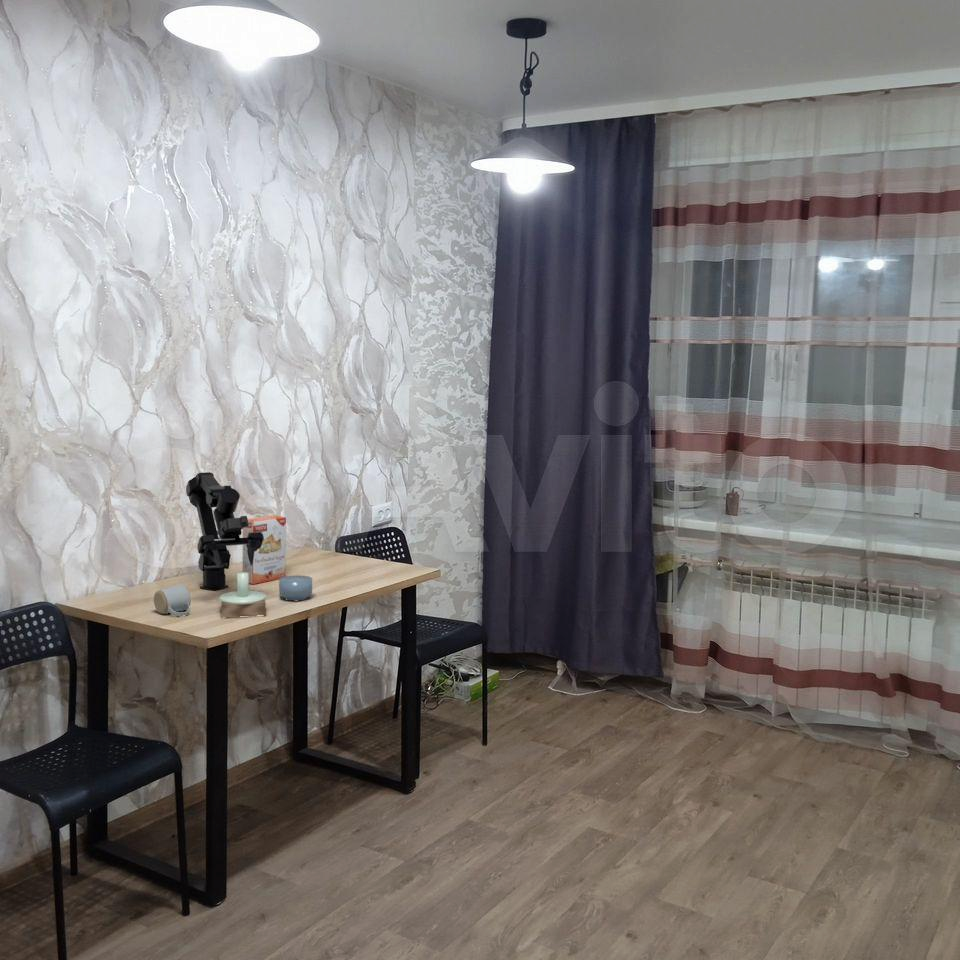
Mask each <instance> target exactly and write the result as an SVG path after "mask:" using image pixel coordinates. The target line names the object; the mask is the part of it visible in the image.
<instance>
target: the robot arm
mask: <svg viewBox="0 0 960 960" xmlns="http://www.w3.org/2000/svg"><path fill="white" fill-rule="evenodd" d="M185 493H186V496H187V497H188V500H189V503H190V504H191V505H193V507H195V508H196V511H197V516H198V520H199V525H200V529H201V533H202V535H201V536H200V537H199V538H198V543H197V553H198V554H200V555H199V558H198V562H197V563H198V569H199V570H200V571H201V572H202V577H203V578H202V584H203V585H200V586H199V588H200V589H202V588H204V589H203V590H208V589H209V591H217V589H218V590H221V588H222V589H225V587H226V588H228V587H229V585H228V584H226V573H225V570H229V569H230V563H231V561H230V560H231V553H230V550H229V549H228V546H229V547H230V546H243V545H245V544H246V546H247V548H248V549H247V553H248V557H249V562H250V564H251V565H253V559H254V551H257V549H259V548H261V545H262V542H263V540H264V536H263V534H262V533H261V532H249V534H248V537H246V538H243V537H240V536H241V535H242V534H243V531H242V530H243V528H245V527H247V526H248V519H249V518H248V516H247V515H241V516H239V517H235V514H234V513H235V512H236V510H237V508H238V504H239V500H240V497H241V496H240V493H239V492H238V490H236V489H234V488H232V486H231V485H230V484H229V485H221V484H220V482H218V481H217V479H216V478H215V477H214V473H213V472H210V471H209V472H207V471H206V472H198V473H196V476H194V477H193V478H190V479H189V480H188V482H187V483H186V487H185ZM212 508H214V510H213V509H212Z"/></svg>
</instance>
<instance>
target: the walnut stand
mask: <svg viewBox="0 0 960 960" xmlns="http://www.w3.org/2000/svg"><path fill="white" fill-rule="evenodd" d="M220 602H221V601H220ZM220 604H221V605H220V607H221V609H220V610H221V618H222V617H240V616H257V615H266V616H267V614H266V610H267V609H266V605H267V604H266V599H265V600H263V601H261V602H257V603H252V604H228V603H224V602H221V603H220Z"/></svg>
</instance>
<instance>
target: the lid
mask: <svg viewBox="0 0 960 960" xmlns="http://www.w3.org/2000/svg"><path fill="white" fill-rule="evenodd" d="M236 583H237V584H236V585H237V586H236V588H237V589H236V590H235V591H234V590H233V591H230V592H229V591H228V592H225V593H222V594H220V596H219V601H220V602H224V603H228V604H252V603H257V602H261V601H263V600H265V601H266V598H267V594H266V593H264V592H262V591H257V590H249V589H250V588H249V586H250V583H249V575H248V572H243V571H241V572H237V573H236Z"/></svg>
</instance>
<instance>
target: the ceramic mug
mask: <svg viewBox="0 0 960 960" xmlns="http://www.w3.org/2000/svg"><path fill="white" fill-rule="evenodd" d="M191 599H192V598H191V593H190V592H189V590H188V587H187V586H186V585H184V584H182V583H179V584H175V585H173V586H168V587H165V588H162V589H159V590H157V591H155V593H154V596H153V605H154V607H155V610H156V612H158V613H159V614H161V613H162V614H161V615H169V614H168V613H170V615H172V616H174V617H177V616H183V615H187V616H188V615H189V614H190V611H191V607H190V606H191ZM184 610H185V611H184ZM179 611H180V612H179Z"/></svg>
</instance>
